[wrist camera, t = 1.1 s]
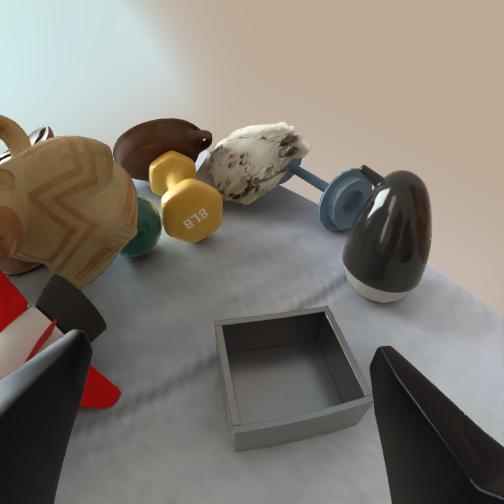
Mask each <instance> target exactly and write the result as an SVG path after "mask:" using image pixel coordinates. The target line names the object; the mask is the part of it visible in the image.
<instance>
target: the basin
mask: <svg viewBox="0 0 504 504" xmlns="http://www.w3.org/2000/svg"><path fill="white" fill-rule="evenodd" d="M214 327H215V339H216V351H217V358H218V364H219V370H220V376H221V382H222V388H223V394H224V399H225V405H226V410H227V416H228V421H229V426H230V432H231V437H232V442H233V447H234V452H240V451H246V450H253V449H259V448H264V447H270V446H275V445H280V444H285V443H289V442H294V441H298V440H303V439H307V438H311V437H315V436H318V435H322V434H326V433H329V432H333V431H336V430H340V429H343V428H346V427H350V426H353V425H356V424H357V423H358V421H359V420H360V419H361V418H362V417H363V415H364V414H365V413H366V411H367V410H368V409H369V408H370V406H371V405H372V404H373V396H372V395H371V392H370V390H369V388H368V385H367V383H366V381H365V379H364V377H363V375H362V373H361V371H360V369H359V367H358V365H357V363H356V361H355V359H354V357H353V355H352V353H351V351H350V349H349V347H348V345H347V343H346V341H345V339H344V337H343V335H342V333H341V331H340V329H339V327H338V325H337V323H336V321H335V319H334V317H333V315H332V313H331V311H330V310H329V308H328V306H324V307H318V308H312V309H305V310H298V311H291V312H284V313H277V314H269V315H261V316H253V317H245V318H236V319H227V320H218V321H214Z"/></svg>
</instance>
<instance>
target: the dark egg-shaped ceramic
mask: <svg viewBox="0 0 504 504" xmlns="http://www.w3.org/2000/svg"><path fill="white" fill-rule="evenodd" d="M359 172H360V173H361V174H362V175H363V176H364V177H365V178H366V179H367V180H368V181H369V182H370V183H372V184H373V185H374V186H375V188H374V190H373V191H372V192H371V194H370V195H369V196H368V198H367V199H366V201H365V202H364V204H363V206H362V207H361V209H360V211H359V213H358V215H357V217H356V219H355V221H354V223H353V225H352V227H351V230H350V232H349V235H348V237H347V240H346V243H345V246H344V250H343V262H344V268H345V273H346V277H347V279H348V281H349V283H350V285H351V286H352V287H353V289H354V290H355V291H356V292H357V293H359V294H360V295H361V296H363V297H365V298H367V299H369V300H371V301H375V302H381V303H388V302H393V301H397V300H399V299H401V298H403V297H404V296H406V295H407V294H408V293H409V292H410V291H411V290H412V289H414V288H415V287H416V286H417V285H418V284H419V283H420V281H421V279H422V276H423V274H424V271H425V267H426V264H427V260H428V256H429V251H430V245H431V237H432V212H431V203H430V197H429V193H428V190H427V187H426V185H425V183H424V182H423V180H422V179H421V178H420V177H419V176H417V175H416V174H414V173H412V172H410V171H406V170H397V171H394V172H392V173H390V174H388V175H387V176H386V177H382V176H380V175H379V174H378V173H376V172H375V171H373V170H372V169H370V168H369V167H367V166H366V165H363V166H361V168H360V169H359Z"/></svg>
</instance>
